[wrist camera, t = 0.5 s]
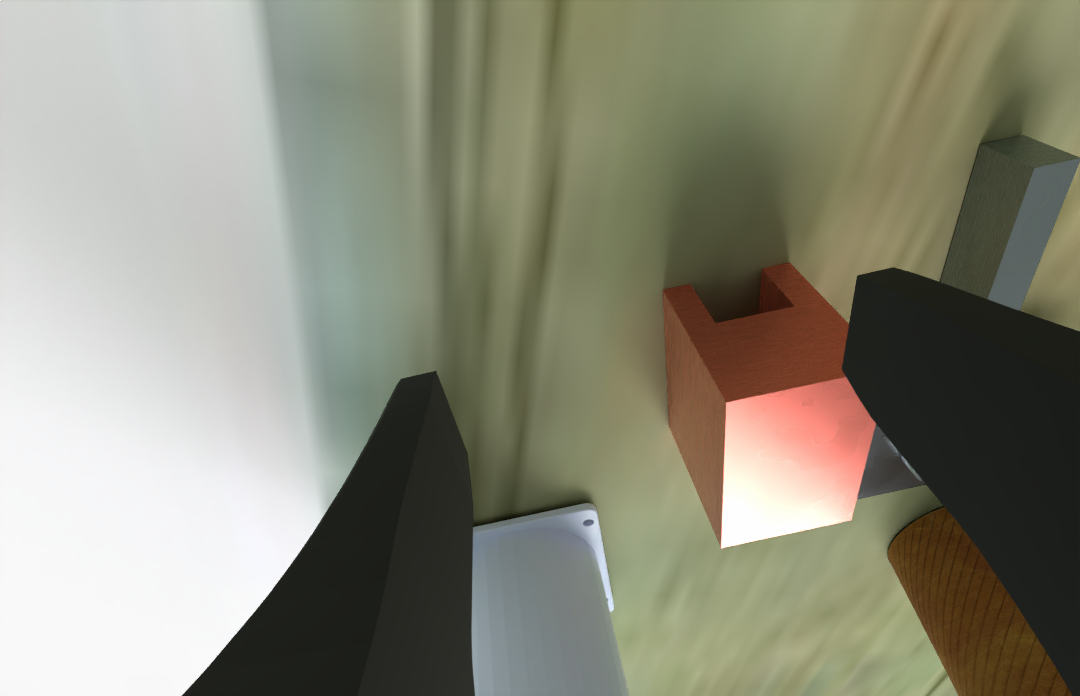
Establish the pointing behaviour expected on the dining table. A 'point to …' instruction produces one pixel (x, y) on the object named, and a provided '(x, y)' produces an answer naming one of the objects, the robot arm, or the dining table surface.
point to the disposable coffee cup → (970, 613)
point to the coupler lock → (766, 410)
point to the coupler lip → (990, 254)
